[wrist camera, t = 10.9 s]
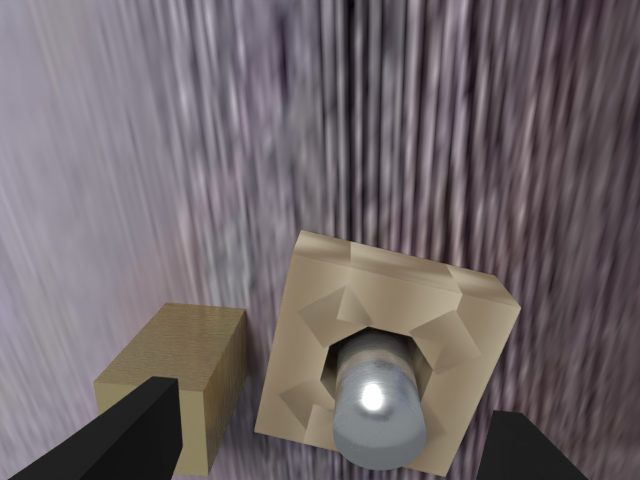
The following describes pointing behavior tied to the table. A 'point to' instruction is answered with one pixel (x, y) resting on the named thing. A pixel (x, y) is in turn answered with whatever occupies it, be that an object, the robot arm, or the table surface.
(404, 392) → the round peg
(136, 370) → the square bit
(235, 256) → the table surface
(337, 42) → the table surface
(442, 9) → the table surface
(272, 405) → the socket block
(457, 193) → the table surface
